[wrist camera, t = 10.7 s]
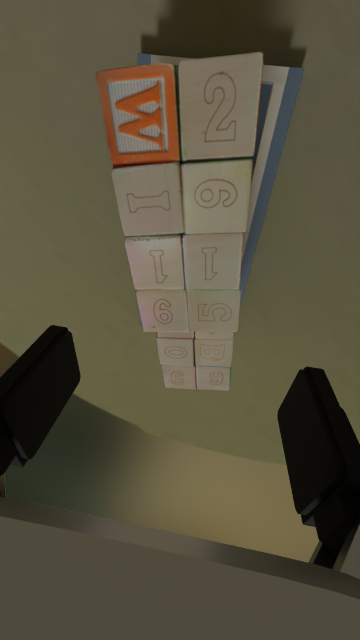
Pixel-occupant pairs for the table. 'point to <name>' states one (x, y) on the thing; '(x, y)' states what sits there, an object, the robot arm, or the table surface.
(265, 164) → the shallow rectangular tray
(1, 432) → the robot arm
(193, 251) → the stack of blocks
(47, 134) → the table surface
